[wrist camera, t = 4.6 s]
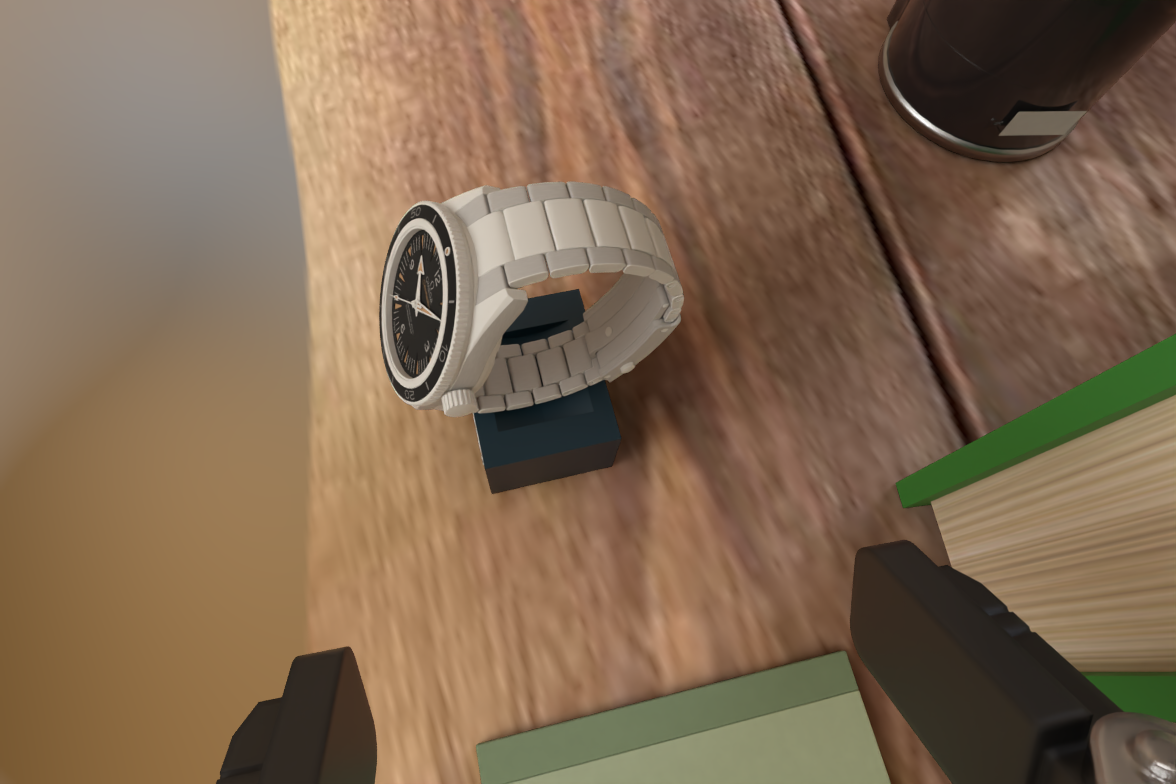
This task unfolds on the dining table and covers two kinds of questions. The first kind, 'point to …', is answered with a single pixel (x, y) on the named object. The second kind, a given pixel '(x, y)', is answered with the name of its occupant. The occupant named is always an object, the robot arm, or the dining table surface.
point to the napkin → (709, 736)
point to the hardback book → (1078, 525)
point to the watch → (525, 319)
